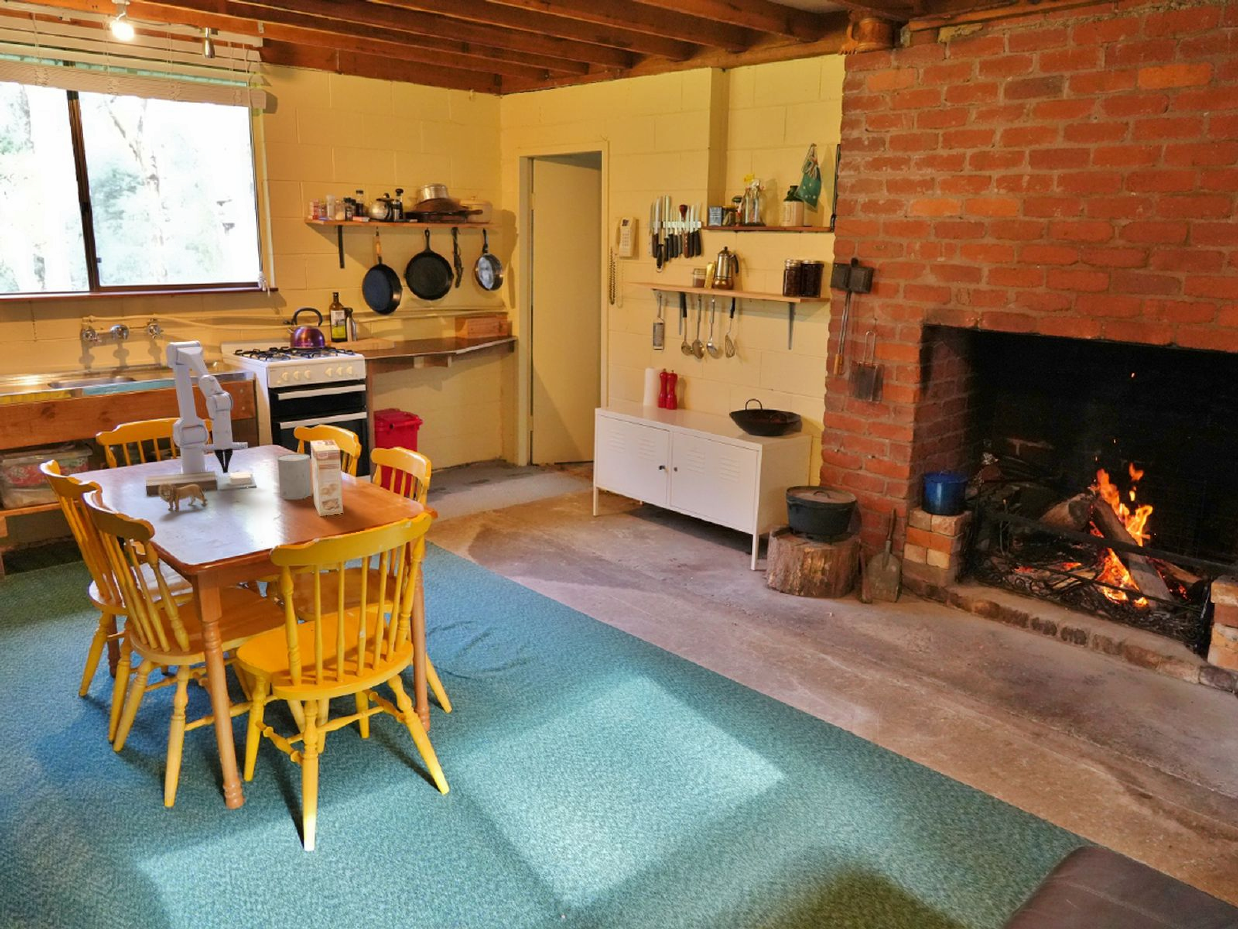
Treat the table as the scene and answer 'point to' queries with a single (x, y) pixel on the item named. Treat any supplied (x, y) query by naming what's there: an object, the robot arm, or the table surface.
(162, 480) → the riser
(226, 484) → the mat
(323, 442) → the coffeecake box
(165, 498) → the lion figurine
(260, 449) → the table surface
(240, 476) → the tile
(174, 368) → the robot arm
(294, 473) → the grey cylinder
